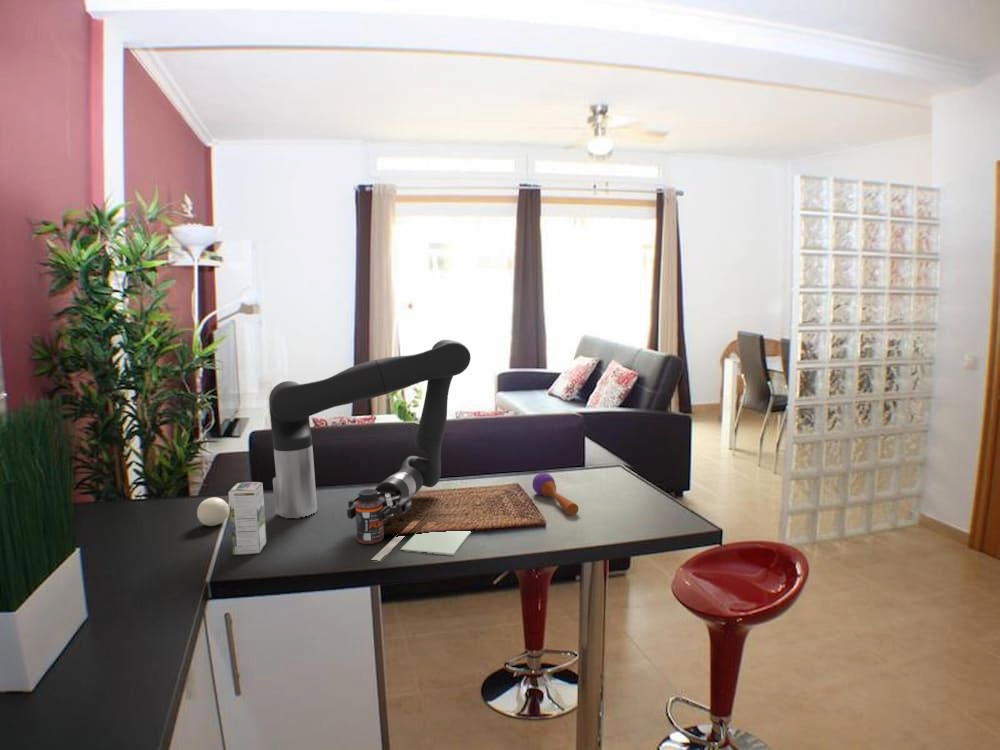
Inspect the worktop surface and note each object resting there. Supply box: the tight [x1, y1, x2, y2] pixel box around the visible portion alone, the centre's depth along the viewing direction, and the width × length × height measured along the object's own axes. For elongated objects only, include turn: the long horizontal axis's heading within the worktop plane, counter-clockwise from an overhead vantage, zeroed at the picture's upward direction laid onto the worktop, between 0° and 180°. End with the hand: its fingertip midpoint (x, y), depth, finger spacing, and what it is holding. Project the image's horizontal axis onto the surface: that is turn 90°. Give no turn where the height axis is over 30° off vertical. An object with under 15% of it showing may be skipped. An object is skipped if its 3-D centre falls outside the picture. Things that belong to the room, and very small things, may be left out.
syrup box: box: [228, 481, 268, 556], centre depth 143 cm, size 6×6×14 cm
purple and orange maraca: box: [532, 472, 579, 516], centre depth 168 cm, size 6×6×20 cm
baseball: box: [196, 496, 230, 527], centre depth 159 cm, size 7×7×7 cm
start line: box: [371, 535, 406, 562], centre depth 147 cm, size 2×22×1 cm, turn 165°
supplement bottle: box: [355, 488, 385, 545], centre depth 147 cm, size 6×6×11 cm
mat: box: [400, 531, 472, 556], centre depth 147 cm, size 12×16×1 cm
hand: (364, 515), depth 144 cm, fingers open, 7 cm apart
